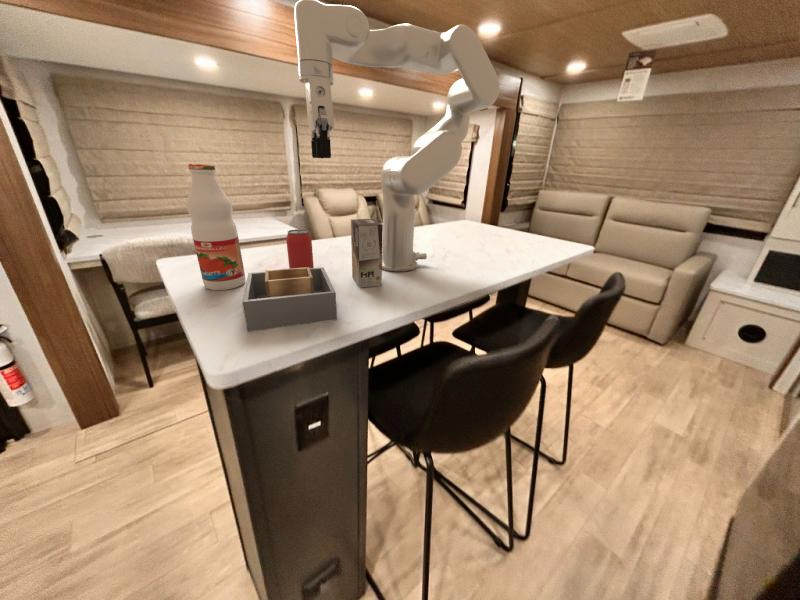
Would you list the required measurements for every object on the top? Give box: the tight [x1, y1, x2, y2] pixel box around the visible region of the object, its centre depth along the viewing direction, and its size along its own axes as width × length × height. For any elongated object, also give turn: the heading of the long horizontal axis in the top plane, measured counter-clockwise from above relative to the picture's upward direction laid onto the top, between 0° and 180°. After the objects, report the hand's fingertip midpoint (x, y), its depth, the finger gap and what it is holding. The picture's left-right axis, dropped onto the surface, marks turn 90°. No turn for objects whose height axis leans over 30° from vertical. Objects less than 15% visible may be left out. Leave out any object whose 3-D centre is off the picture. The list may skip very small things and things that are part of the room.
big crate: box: [242, 267, 338, 332], centre depth 66 cm, size 17×17×6 cm
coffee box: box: [350, 218, 383, 289], centre depth 81 cm, size 9×6×16 cm
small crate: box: [264, 267, 314, 298], centre depth 66 cm, size 9×7×7 cm
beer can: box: [285, 228, 315, 269], centre depth 86 cm, size 7×7×12 cm
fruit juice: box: [185, 163, 246, 291], centre depth 73 cm, size 9×9×28 cm
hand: (321, 157), depth 77 cm, fingers open, 9 cm apart
